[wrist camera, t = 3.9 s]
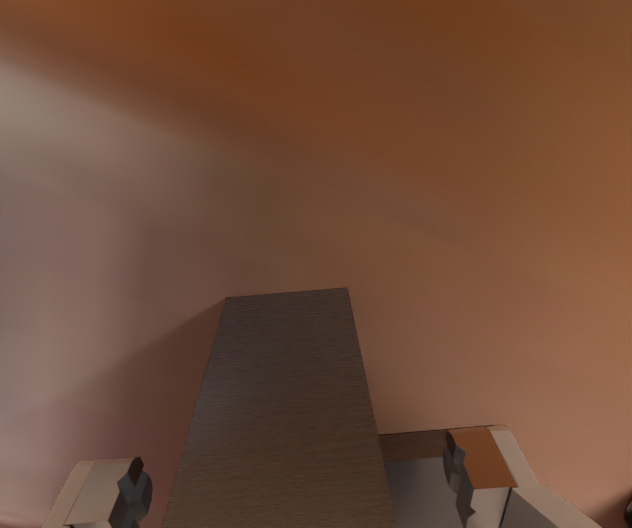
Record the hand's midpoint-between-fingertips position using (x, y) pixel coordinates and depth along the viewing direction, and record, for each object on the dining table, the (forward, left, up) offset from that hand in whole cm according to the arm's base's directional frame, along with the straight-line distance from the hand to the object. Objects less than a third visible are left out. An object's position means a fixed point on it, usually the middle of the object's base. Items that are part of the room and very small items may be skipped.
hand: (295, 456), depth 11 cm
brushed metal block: (0, 0, -4) cm, 4 cm away
